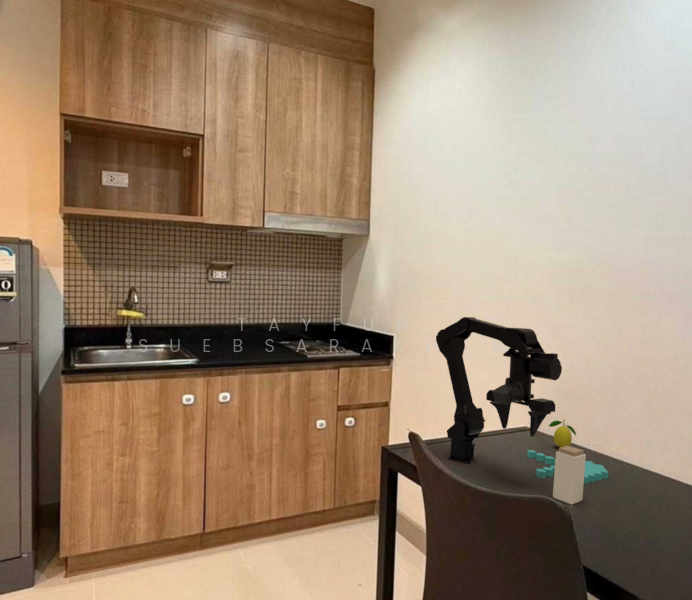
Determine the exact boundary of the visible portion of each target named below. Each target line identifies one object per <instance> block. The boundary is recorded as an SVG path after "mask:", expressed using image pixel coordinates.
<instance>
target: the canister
mask: <svg viewBox="0 0 692 600" xmlns="http://www.w3.org/2000/svg"><path fill="white" fill-rule="evenodd" d="M586 457H587V454H585V452H584V450H583V449H581V448H577V447H573V446H570V445H569V446H565V447H561V448H560V447H559V448H558V451H557V450H556V452H555V459H556V460H555V473H554V474H553V475H554V476H553V477H554V478H553V489H552V498H553V499H557V500H559V501H562V502H564V503H566V504H570V505H574V504H577V503H579V502H582V501H583V496H584V484H585V483H584V472H585V461H586Z"/></svg>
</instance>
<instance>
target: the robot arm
mask: <svg viewBox="0 0 692 600" xmlns="http://www.w3.org/2000/svg"><path fill="white" fill-rule="evenodd" d="M472 333H473V334H477V335H482V336H484V337H487V338H490V339H494V340H497V341H499V342H501V343H502V344H503V345H504V346H506V347H508V349H507V351H505V352H504V353H503V354H502V356H503V357H507V358H509V375H508V376H509V377H505V378H506V379H505V383H504V384H502V385H500V386H498V387H496V388H495V389H489V390H488V391H487V393H486V397H485V398H486V401H489V404H490V405H492V406H493V407H494V408H495V409H496V411H497V413H498V417H499V420H500V424H501V427H502V429H503V430H505V429H507V427H508V422H509V417H510V412H511V406H512V403H514V404H519V405H522V406H526V407H528V409H529V411H527V414H528V415H529V417H530V422H529V423H530V424H529V425H530V426H529V434H530V437H535V435H536V433H537V431H538V430H539V428H540V426H541V425H542V422H543V421H544V420H545V419H546V417H547V416H548V415H551V413H554V412H556V404H555V401H554V400H552V399H548V398H547V399H546V398H534V397H535V394H534V393H533V394H532V384H535V383H536V381H535V379H533V377H534V378H538V379H545V380H550V381H557V380H559V378H560V377H561V374H562V371H563V370H562V369H563V368H562V367H563V366H562V364H561V360H560V359H559V358H558V357H559V356H558V353H554V352H553V353H547V352H545V350H544V349H543V347H542V345H541V343H540V342H539V340H538V336H537V334H536V332H535V331H534V330H533V329H532V328H526V327H525V328H523V327H507V326H505V325H504V326H503V325H500V324H497V323H492V322H488V321H486V320H482V319H478V318H476V317H473V316H464V317H462V318H460V319H459V320H457V321H455V322H454V323H452V324H450V325H448V326H446V327H445V328H443V329H440V330H439V331H438V332H437V334H436V337H435V341H436V343H437V347H438V350H439V352H440V353H441V354H442V356H443V357H444V358H445V360H446V364H447V368H448V373H449V378H450V382H451V387H452V390H453V396H454V400H455V404H456V406H455V407H456V408H455V411H454V415H453V420H454V421H453V424H452V426H450V427H449V428H448V429H447V430H446V433H447V434H446V435H447V438H448V439H451V440H450V454H449V456H448V460H453V461H454V460H455V461H458V462H463V463H466V464H467V463H468V464H470V463H471V462H472V461H474V459H475V458H476V449H477V447H476V446H477V444H476V443H475V439H478V438H479V437H480V435H481V433H482V432H483V430H484V428H485V422H486V420H485V417H484V413H483V408H482V407H477V406H476V405H475V404H474V400H473V398H472V397H473V396H472V393H471V387H470V384H469V380H468V376H467V371H466V366H465V361H464V356H463V355H464V351H465V347H466V345H465V344H466V343H465V341H466V340H467V339H468V338H470V336H471V335H472Z"/></svg>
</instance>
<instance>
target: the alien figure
mask: <svg viewBox="0 0 692 600" xmlns="http://www.w3.org/2000/svg"><path fill="white" fill-rule="evenodd" d="M526 454H527V455H526V456H527V458H531V459H535V461H537V462H543V463H544V464H545V465H549V467H547V466H543V468H536V469H535V476H536V478H540V479H546V477H552V478H553V477H554V476H553V475H554V473H555V460H556V458H554V457H553V456H549V455H545V453H542V452H541V453H540V452H536V450H533V449H527V452H526ZM603 479H609V471H608V470H607V469H606V468H605V467H604V465H603V464H598V463H594V462H593V461H589V460H585V472H584V484H586V485H589V484H590V482H591V483H596V481H602V480H603Z"/></svg>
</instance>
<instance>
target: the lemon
mask: <svg viewBox="0 0 692 600" xmlns="http://www.w3.org/2000/svg"><path fill="white" fill-rule="evenodd" d="M562 423H563V424H562ZM561 424H562V425H561ZM559 425H561V426H559ZM556 426H559V427H557V428H556V429H555V431H554V434H553V442H554V443H555V445H556V446H558V447H559V448H561V447H565V446H570V445H571V444H572V439H573V436H572V434H573V435H575V436H577V433H576V431H575V429H574V427H572V426H570V425H567V424H565V418H564V419H563V421H560V420H552V421H551V422H550V424H549V425H548V427H550V428H552V427H556Z"/></svg>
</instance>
